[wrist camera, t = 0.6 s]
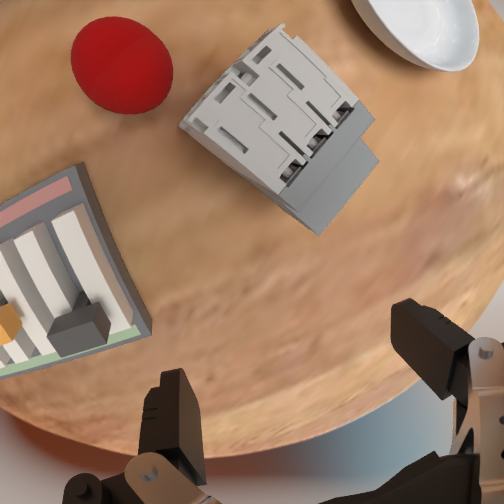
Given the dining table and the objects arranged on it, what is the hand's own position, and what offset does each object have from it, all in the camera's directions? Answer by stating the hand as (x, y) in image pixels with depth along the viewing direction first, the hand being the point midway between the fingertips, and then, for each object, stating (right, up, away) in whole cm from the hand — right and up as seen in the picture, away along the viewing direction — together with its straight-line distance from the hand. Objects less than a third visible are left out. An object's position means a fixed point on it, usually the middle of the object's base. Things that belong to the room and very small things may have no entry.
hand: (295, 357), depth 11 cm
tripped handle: (-27, -1, +15) cm, 31 cm away
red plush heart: (-13, +20, +14) cm, 28 cm away
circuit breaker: (-1, +15, +19) cm, 24 cm away
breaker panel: (-28, 0, +18) cm, 33 cm away
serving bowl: (+17, +36, +16) cm, 42 cm away
